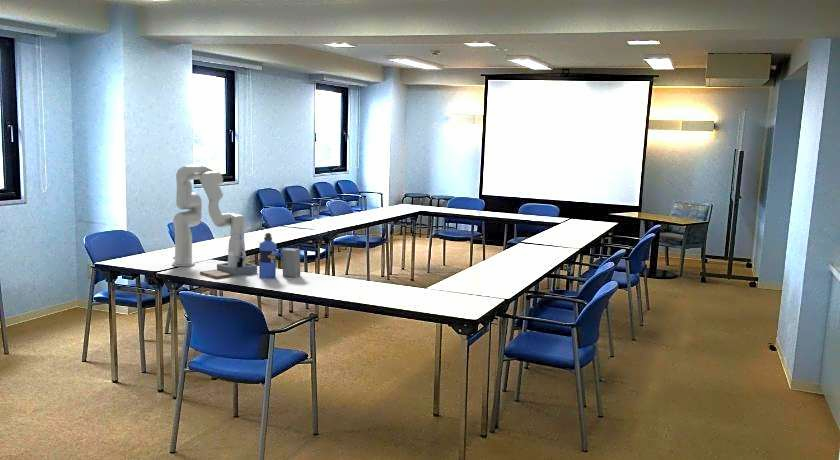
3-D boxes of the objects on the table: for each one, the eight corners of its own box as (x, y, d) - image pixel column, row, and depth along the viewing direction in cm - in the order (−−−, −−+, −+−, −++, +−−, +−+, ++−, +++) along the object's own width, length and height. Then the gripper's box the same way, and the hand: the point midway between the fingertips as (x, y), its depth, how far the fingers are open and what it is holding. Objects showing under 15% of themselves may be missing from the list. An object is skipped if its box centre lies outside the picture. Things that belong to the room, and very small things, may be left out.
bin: (216, 271, 401) (216, 264, 400) (240, 268, 413) (240, 260, 413) (233, 276, 391) (233, 268, 390) (257, 272, 403) (257, 265, 403)
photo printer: (243, 270, 407) (244, 249, 405) (246, 272, 403) (247, 251, 402) (226, 271, 401) (226, 250, 399) (229, 273, 398) (229, 252, 396)
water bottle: (279, 276, 397) (280, 233, 393) (269, 279, 388) (269, 235, 385) (265, 274, 400) (266, 231, 397) (255, 277, 392) (256, 233, 388)
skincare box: (300, 275, 402) (301, 248, 399) (294, 278, 395) (295, 250, 393) (287, 274, 404) (288, 247, 402) (281, 276, 398) (281, 248, 395)
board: (200, 274, 393) (200, 271, 392) (215, 271, 400) (215, 269, 400) (216, 279, 383) (216, 276, 382) (232, 276, 390) (232, 274, 390)
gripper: (222, 234, 402) (222, 265, 404) (240, 239, 391) (240, 270, 394) (233, 233, 408) (233, 264, 410) (251, 237, 397) (251, 269, 399)
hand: (236, 267), depth 402 cm, fingers closed on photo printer, 5 cm apart
